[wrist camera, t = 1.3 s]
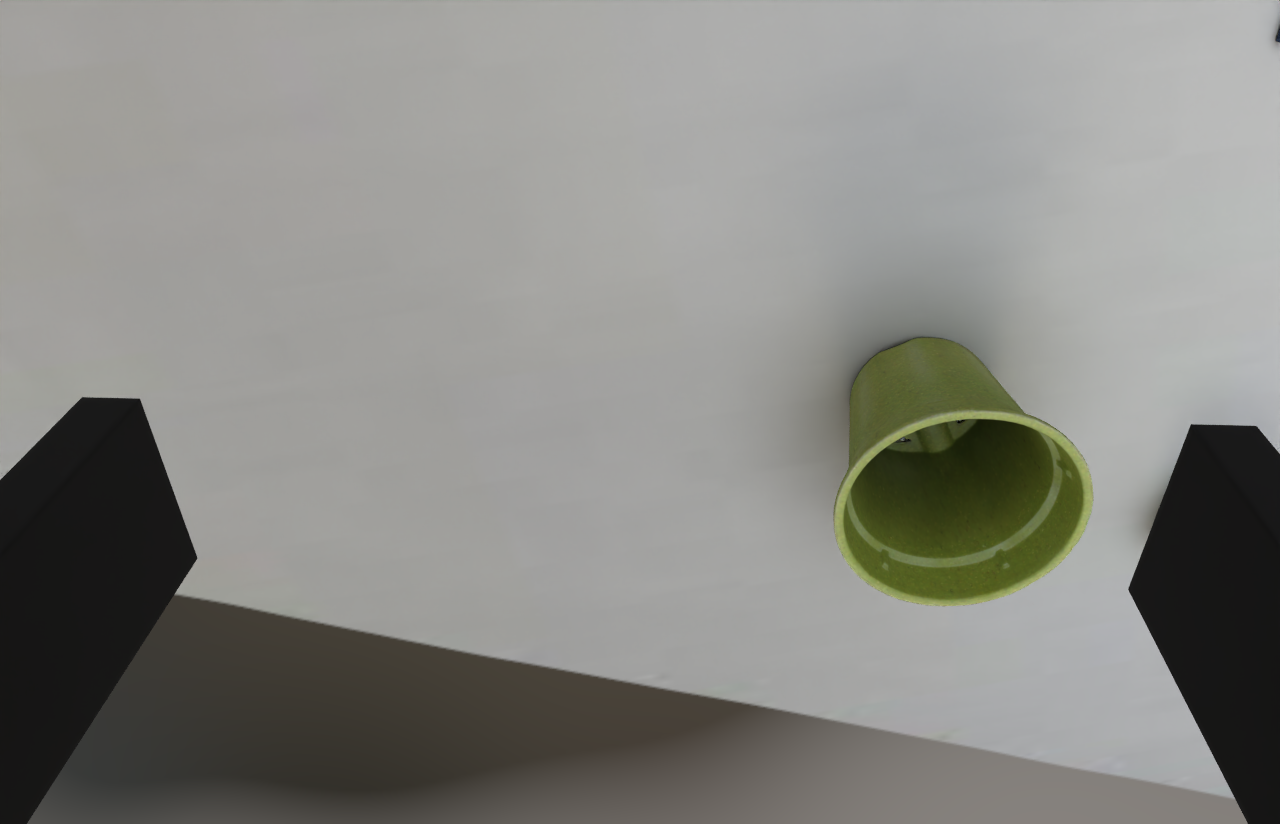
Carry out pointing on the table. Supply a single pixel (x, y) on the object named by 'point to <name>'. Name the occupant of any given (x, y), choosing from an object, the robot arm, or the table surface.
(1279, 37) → the napkin
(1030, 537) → the plant pot
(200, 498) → the table surface
